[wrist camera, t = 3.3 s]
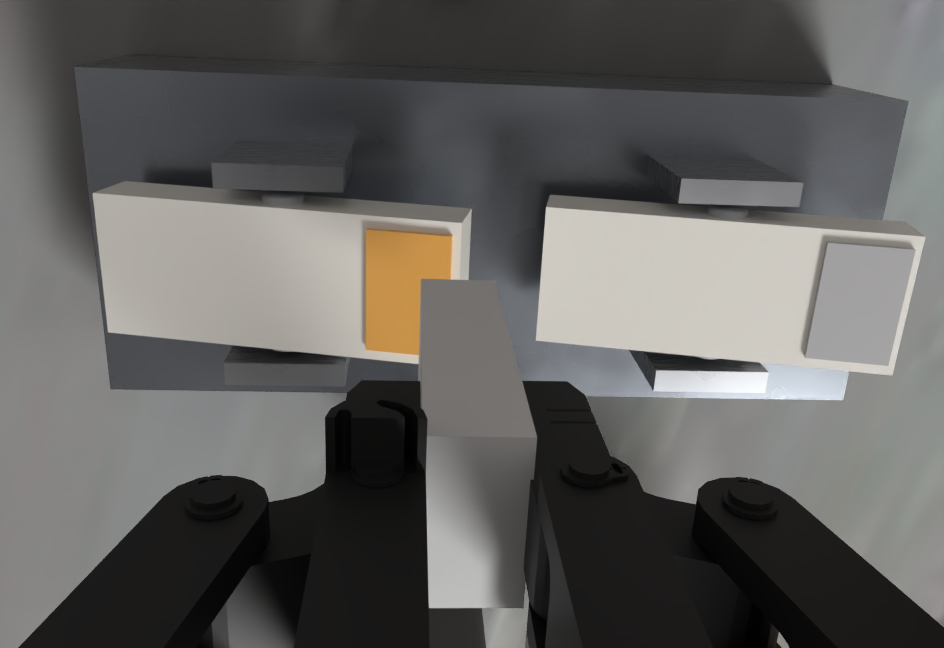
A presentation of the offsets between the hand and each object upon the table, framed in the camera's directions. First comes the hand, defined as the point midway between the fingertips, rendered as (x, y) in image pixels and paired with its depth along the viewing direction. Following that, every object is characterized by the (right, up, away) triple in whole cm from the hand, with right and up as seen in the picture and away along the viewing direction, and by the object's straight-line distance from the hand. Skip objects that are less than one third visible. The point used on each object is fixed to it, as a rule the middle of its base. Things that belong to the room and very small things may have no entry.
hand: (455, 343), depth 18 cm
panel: (+1, +4, +11) cm, 12 cm away
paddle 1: (-4, +2, +4) cm, 6 cm away
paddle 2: (+7, +1, +5) cm, 8 cm away
